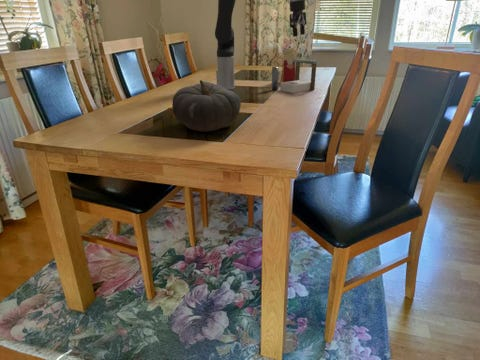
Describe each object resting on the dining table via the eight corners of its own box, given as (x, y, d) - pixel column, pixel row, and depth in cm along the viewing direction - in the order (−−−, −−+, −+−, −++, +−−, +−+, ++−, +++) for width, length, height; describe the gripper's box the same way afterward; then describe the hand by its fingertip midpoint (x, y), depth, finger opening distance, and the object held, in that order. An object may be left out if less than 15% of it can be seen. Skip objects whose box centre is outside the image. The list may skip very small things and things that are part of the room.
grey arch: (309, 91, 180) (311, 61, 174) (291, 87, 191) (292, 59, 184) (314, 90, 182) (316, 60, 176) (296, 86, 193) (298, 58, 186)
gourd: (207, 106, 143) (207, 65, 132) (253, 126, 131) (257, 83, 120) (161, 126, 127) (156, 82, 117) (208, 151, 115) (208, 103, 104)
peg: (274, 90, 183) (274, 67, 178) (270, 89, 186) (270, 67, 180) (279, 89, 185) (279, 67, 180) (274, 89, 187) (275, 66, 182)
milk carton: (294, 81, 207) (296, 46, 199) (295, 84, 199) (297, 48, 190) (280, 81, 208) (281, 46, 199) (280, 84, 200) (281, 48, 191)
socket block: (293, 93, 177) (293, 85, 175) (280, 90, 184) (280, 82, 182) (310, 89, 183) (311, 82, 182) (297, 87, 191) (297, 80, 189)
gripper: (296, 0, 174) (298, 34, 180) (283, 1, 163) (286, 37, 170) (310, -2, 169) (311, 33, 176) (297, -1, 159) (299, 36, 166)
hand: (299, 35), depth 173 cm, fingers open, 8 cm apart
